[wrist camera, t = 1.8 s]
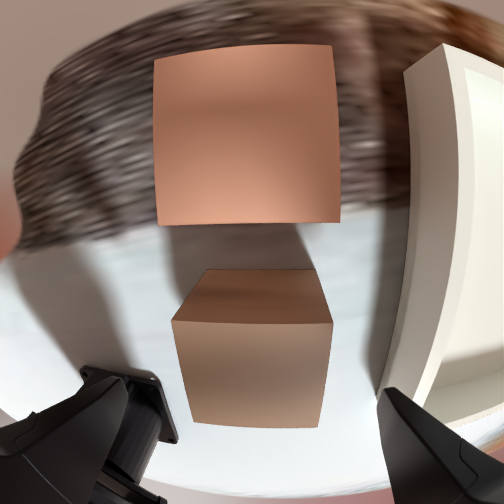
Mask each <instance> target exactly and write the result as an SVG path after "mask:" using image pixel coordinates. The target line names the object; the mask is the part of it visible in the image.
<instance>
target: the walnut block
mask: <svg viewBox="0 0 504 504" xmlns="http://www.w3.org/2000/svg"><path fill="white" fill-rule="evenodd" d="M171 323H172V329H173V334H174V339H175V344H176V349H177V354H178V359H179V364H180V368H181V373H182V377H183V382H184V386H185V390H186V394H187V398H188V402H189V406H190V410H191V414H192V417H193V421H194V422H197V423H205V424H214V425H224V426H237V427H254V428H314V427H318V423H319V417H320V412H321V407H322V401H323V395H324V389H325V383H326V377H327V370H328V363H329V356H330V349H331V341H332V332H333V320H332V317H331V314H330V311H329V308H328V305H327V302H326V299H325V296H324V293H323V290H322V287H321V284H320V281H319V278H318V275H317V272H316V269H207V271H206V272H205V273H204V275H203V276H202V277H201V279H200V280H199V282H198V283H197V284H196V286H195V287H194V289H193V290H192V291H191V293H190V294H189V296H188V297H187V298H186V300H185V301H184V303H183V304H182V305H181V307H180V308H179V310H178V311H177V312H176V314H175V315H174V317H173V318H172V320H171Z"/></svg>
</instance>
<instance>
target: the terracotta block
mask: <svg viewBox="0 0 504 504" xmlns="http://www.w3.org/2000/svg"><path fill="white" fill-rule="evenodd" d="M153 150H154V174H155V191H156V204H157V216H158V226H166V225H194V224H231V223H340V206H341V171H340V137H339V117H338V103H337V90H336V79H335V69H334V60H333V52H332V46H327V45H308V44H268V45H249V46H236V47H226V48H217V49H210V50H203V51H196V52H190V53H185V54H179V55H174V56H169V57H165V58H160V59H156V60H154V82H153Z"/></svg>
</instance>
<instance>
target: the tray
mask: <svg viewBox="0 0 504 504" xmlns="http://www.w3.org/2000/svg"><path fill="white" fill-rule="evenodd" d="M403 75H404V82H405V90H406V98H407V108H408V119H409V133H410V157H411V191H410V216H409V230H408V242H407V252H406V261H405V269H404V276H403V283H402V289H401V296H400V301H399V307H398V312H397V317H396V322H395V327H394V332H393V336H392V341H391V345H390V349H389V353H388V357H387V361H386V365H385V368H384V372H383V375H382V379H381V382H380V386H379V389H378V392H377V395H376V399H377V402H378V401H379V398H380V394H381V391H382V390H383V389H384V388H387V387H395V388H397V389H398V390H400V391H401V392H402V393H403V394H405V395H406V396H407V397H409V398H410V399H411V400H413V401H414V402H415V403H416V404H418V405H419V406H420V407H422V408H423V409H424V410H426V411H427V412H428V413H430V414H431V415H432V416H434V417H435V418H436V419H438V420H439V421H440V422H442V423H443V424H444V425H446V426H447V427H448V428H450V429H453V428H457V427H459V426H462V425H465V424H468V423H471V422H473V421H476V420H479V419H481V418H484V417H486V416H488V415H491V414H493V413H495V412H498V411H500V410H502V409H504V68H502V67H500V66H498V65H496V64H494V63H492V62H489V61H487V60H485V59H483V58H481V57H478V56H476V55H474V54H471V53H469V52H466V51H464V50H461V49H458V48H456V47H453V46H450V45H447V44H444V43H442V44H441V45H439V46H438V47H437V48H435V49H434V50H432V51H431V52H430V53H428V54H427V55H426V56H424V57H423V58H421V59H420V60H419V61H417V62H416V63H415V64H413V65H412V66H411V67H409V68H408V69H407V70H405V71H404V72H403Z"/></svg>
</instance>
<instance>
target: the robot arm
mask: <svg viewBox="0 0 504 504" xmlns="http://www.w3.org/2000/svg"><path fill="white" fill-rule="evenodd" d="M80 374H81V377H82V379H83V381H84V384H83V386H82V387H81V388H80V389H79V390H78V392H77V393H76V394H75V395H74V396H72V397H70V398H68V399H66V400H64V401H62V402H60V403H57V404H55V405H53V406H51V407H49V408H47V409H45V410H43V411H41V412H40V413H37V414H36V413H35V412H33V411H32V413H31V414H30V415H29V416H28V417H27V418H26V419H23V420H21V421H18V422H15V423H13V424H10V425H7V426H4V427H1V428H0V504H167V500H166V499H164V498H163V497H161V496H156V495H155V494H153V493H151V492H149V491H147V490H146V489H144V488H142V487H140V486H139V483H140V481H141V478H142V476H143V474H144V472H145V469H146V467H147V465H148V462H149V460H150V458H151V456H152V453H153V451H154V449H155V446H156V444H157V442H158V441H161V442H166V443H171V444H176V443H177V442H178V439H179V438H178V435H177V432H176V429H175V426H174V424H173V421H172V418H171V415H170V412H169V409H168V406H167V402H166V399H165V396H164V393H163V389H162V386H161V385H160V384H159V383H158V382H157V381H154V380H150V379H144V378H138V377H133V376H128V375H123V374H118V373H113V372H109V371H105V370H100V369H96V368H92V367H88V366H83V367H82V368H81V369H80ZM377 416H378V423H379V430H380V437H381V445H382V450H383V454H384V458H385V462H386V466H387V470H388V475H389V479H390V483H391V488H392V493H393V497H394V502H395V504H504V463H502V462H500V461H498V460H496V459H494V458H493V457H491V456H489V455H487V454H486V453H484V452H482V451H480V450H479V449H477V448H476V447H474V446H473V445H472V444H470V443H469V442H467V441H466V440H465V439H463V438H461V437H460V436H459V435H458V434H456V433H455V432H454V431H452V430H451V429H450V428H448V427H447V426H446V425H444V424H443V423H442V422H440V421H439V420H438V419H436V418H435V417H434V416H432V415H431V414H430V413H428V412H427V411H426V410H424V409H423V408H422V407H420V406H419V405H418V404H416V403H415V402H414V401H413V400H411V399H410V398H409V397H407V396H406V395H405V394H403V393H402V392H401V391H400V390H398V389H397V388H395V387H387V388H384V389H383V390H382V391H381V394H380V398H379V401H378V403H377Z"/></svg>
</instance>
